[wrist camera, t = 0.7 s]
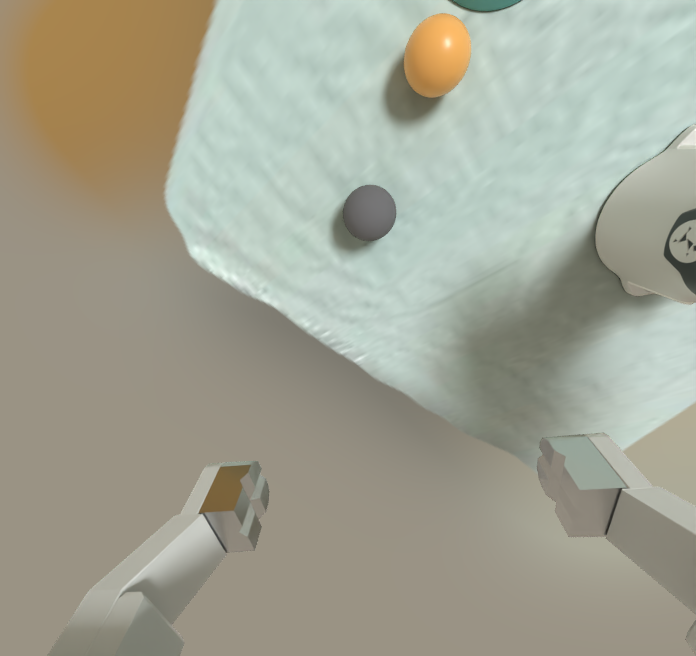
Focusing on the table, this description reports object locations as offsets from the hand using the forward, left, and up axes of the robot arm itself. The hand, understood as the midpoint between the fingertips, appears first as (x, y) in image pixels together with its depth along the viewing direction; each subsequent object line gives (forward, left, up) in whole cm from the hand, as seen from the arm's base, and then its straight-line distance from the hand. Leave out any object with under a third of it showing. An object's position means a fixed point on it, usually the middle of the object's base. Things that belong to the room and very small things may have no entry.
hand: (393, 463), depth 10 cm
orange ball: (-6, -16, -32) cm, 36 cm away
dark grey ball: (+1, -2, -32) cm, 32 cm away
